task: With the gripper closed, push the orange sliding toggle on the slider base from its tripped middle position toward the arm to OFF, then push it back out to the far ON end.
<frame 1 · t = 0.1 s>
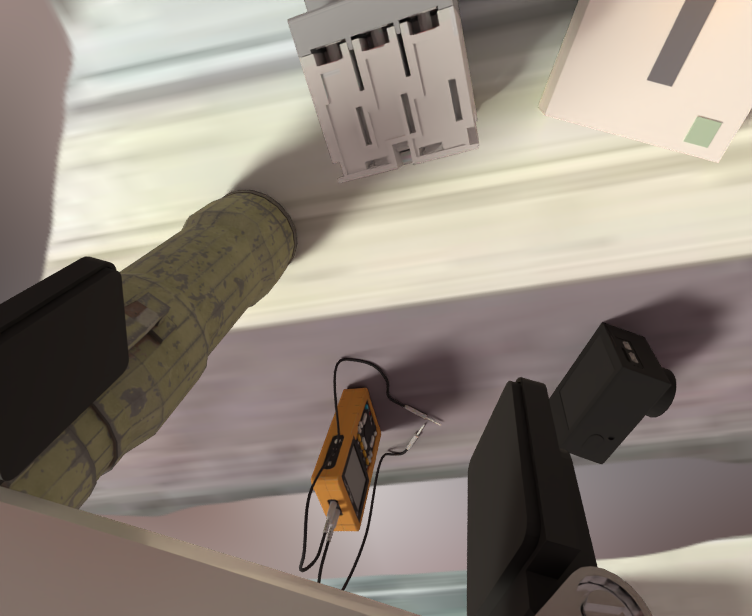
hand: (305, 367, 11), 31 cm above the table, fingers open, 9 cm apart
thermos: (254, 234, 45), on the table
multimeter: (393, 406, 53), on the table
digital camera: (598, 371, 46), on the table
circuit breaker: (407, 24, 34), on the table
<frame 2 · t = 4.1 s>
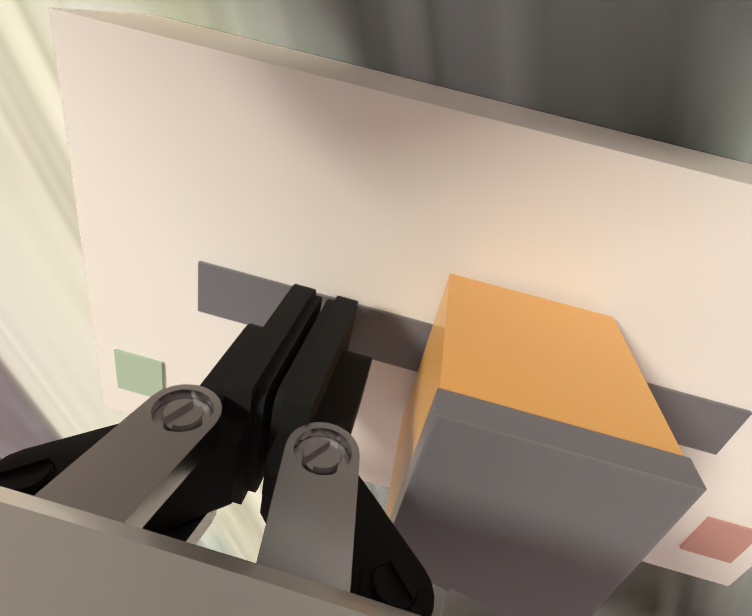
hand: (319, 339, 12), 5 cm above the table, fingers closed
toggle: (500, 442, 10), point 7 cm above the table, slide at -1.0 cm, touching gripper
slider base: (461, 289, 16), on the table
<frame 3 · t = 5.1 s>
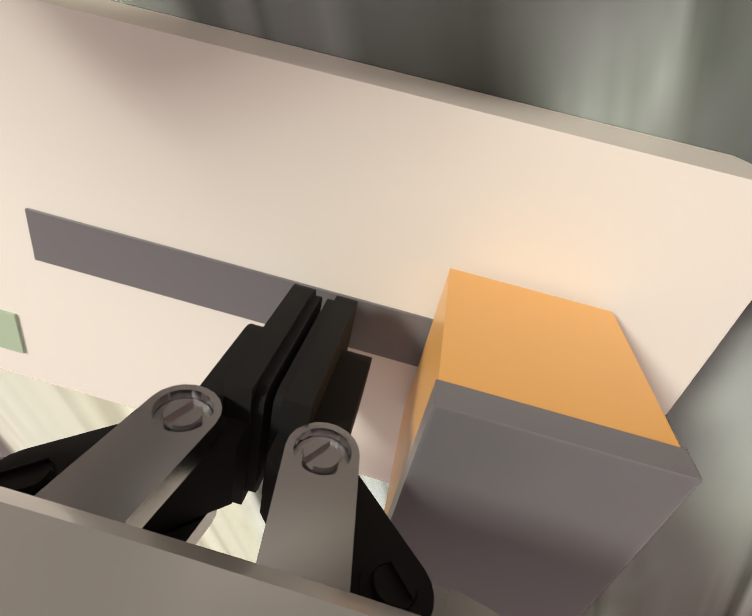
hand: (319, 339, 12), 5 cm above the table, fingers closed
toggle: (500, 436, 10), point 7 cm above the table, slide at -6.2 cm, touching gripper
slider base: (320, 247, 17), on the table
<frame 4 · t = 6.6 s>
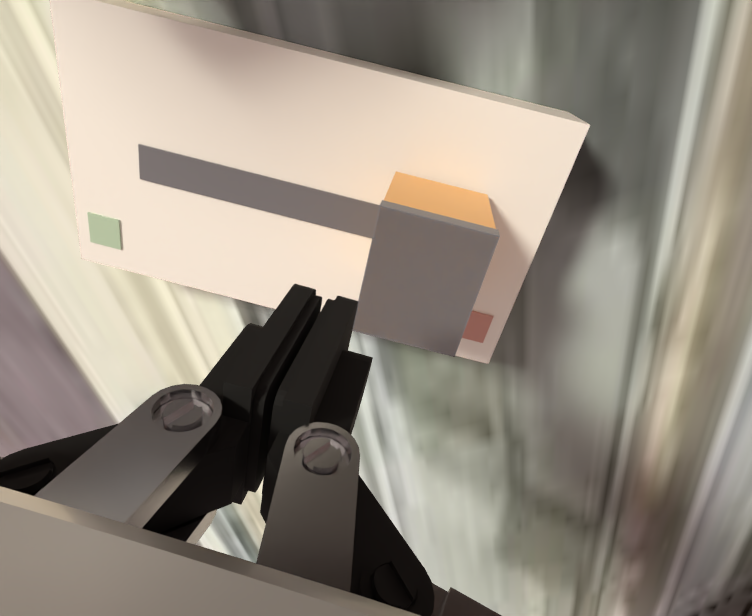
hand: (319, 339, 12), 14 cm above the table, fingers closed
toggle: (423, 259, 19), point 7 cm above the table, slide at -6.1 cm
slider base: (319, 179, 25), on the table
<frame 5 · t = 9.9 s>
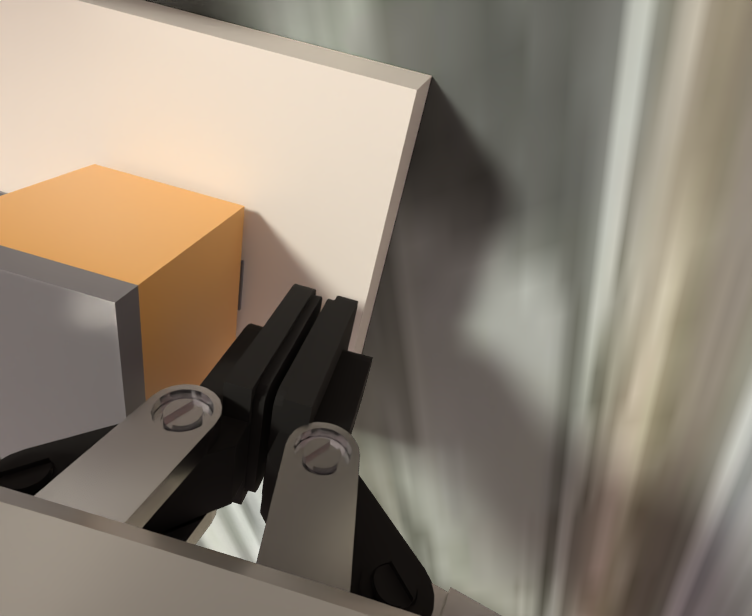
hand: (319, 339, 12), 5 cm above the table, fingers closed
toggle: (111, 317, 11), point 7 cm above the table, slide at -5.5 cm, touching gripper
slider base: (92, 178, 17), on the table
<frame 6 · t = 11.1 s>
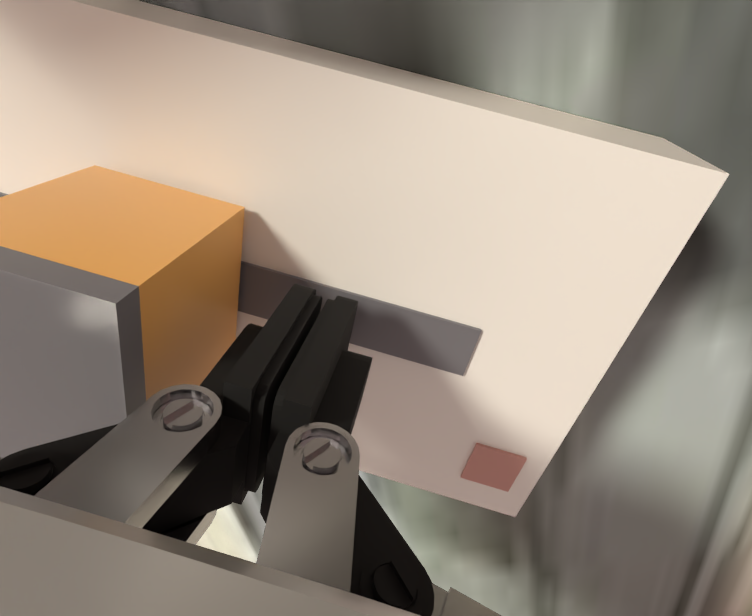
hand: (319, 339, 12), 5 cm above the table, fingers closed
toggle: (112, 317, 11), point 7 cm above the table, slide at 1.2 cm, touching gripper
slider base: (268, 229, 17), on the table
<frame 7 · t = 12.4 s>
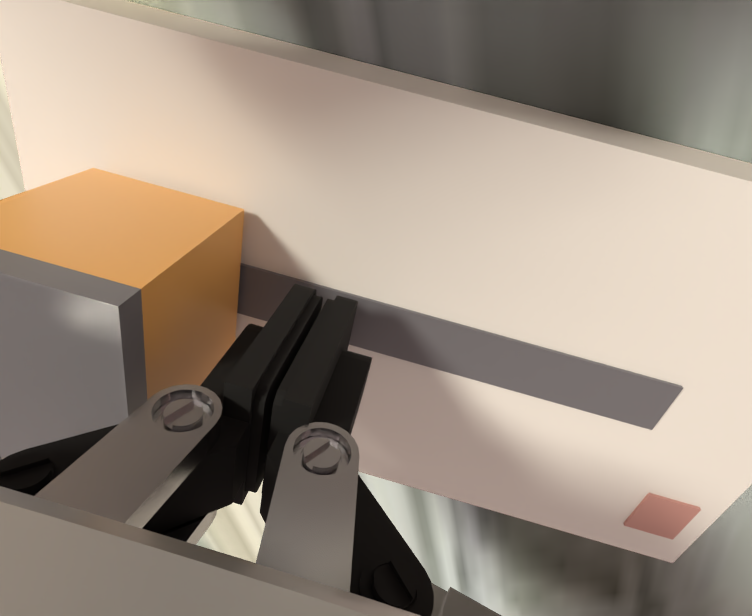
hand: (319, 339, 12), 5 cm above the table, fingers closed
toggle: (111, 320, 11), point 7 cm above the table, slide at 6.7 cm, touching gripper
slider base: (415, 271, 16), on the table
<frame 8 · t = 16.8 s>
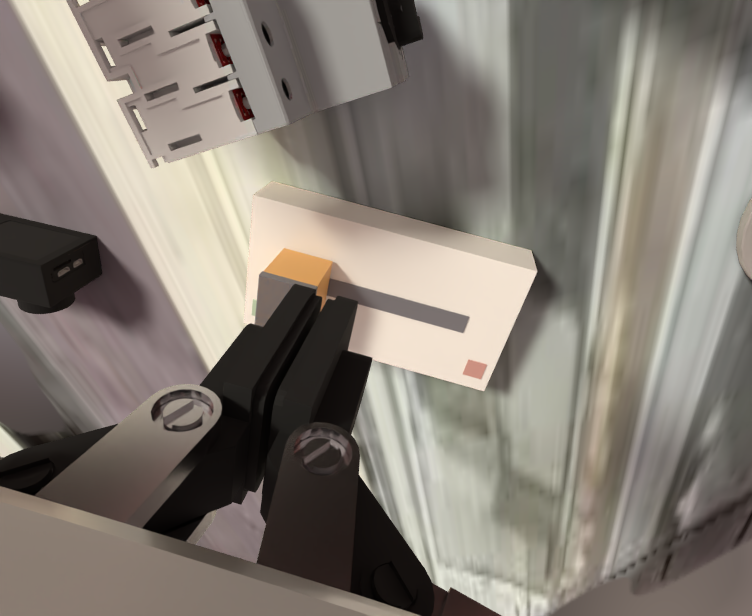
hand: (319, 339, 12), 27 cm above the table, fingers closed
digital camera: (53, 248, 47), on the table
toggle: (294, 296, 36), point 7 cm above the table, slide at 6.1 cm
slider base: (384, 278, 41), on the table
circuit breaker: (327, 40, 33), on the table
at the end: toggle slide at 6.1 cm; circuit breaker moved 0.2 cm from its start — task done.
